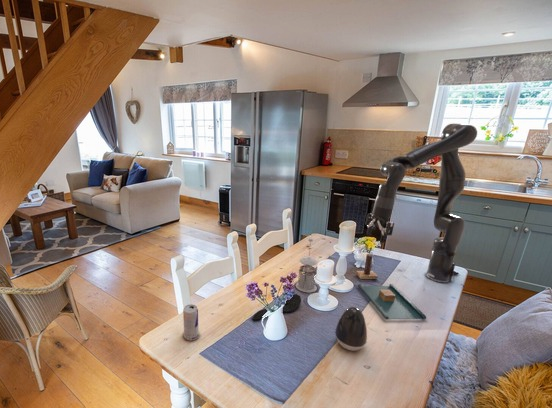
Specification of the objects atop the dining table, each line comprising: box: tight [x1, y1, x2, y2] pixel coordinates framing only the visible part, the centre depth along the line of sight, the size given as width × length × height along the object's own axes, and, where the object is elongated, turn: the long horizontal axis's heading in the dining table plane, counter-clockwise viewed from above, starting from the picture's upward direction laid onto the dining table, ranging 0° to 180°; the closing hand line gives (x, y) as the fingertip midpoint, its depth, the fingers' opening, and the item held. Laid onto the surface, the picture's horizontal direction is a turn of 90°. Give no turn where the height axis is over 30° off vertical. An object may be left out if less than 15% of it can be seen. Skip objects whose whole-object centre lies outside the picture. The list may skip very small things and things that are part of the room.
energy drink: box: [182, 304, 199, 342], centre depth 113 cm, size 5×5×12 cm
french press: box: [295, 237, 319, 294], centre depth 142 cm, size 10×12×25 cm
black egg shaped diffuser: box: [334, 306, 368, 352], centre depth 108 cm, size 10×10×15 cm
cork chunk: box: [379, 290, 395, 301], centre depth 134 cm, size 4×4×3 cm
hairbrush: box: [252, 292, 302, 322], centre depth 129 cm, size 8×4×25 cm
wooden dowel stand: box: [355, 253, 378, 281], centre depth 151 cm, size 5×8×13 cm, turn 90°
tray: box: [357, 283, 427, 320], centre depth 133 cm, size 24×16×2 cm, turn 0°
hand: (375, 238), depth 143 cm, fingers open, 8 cm apart
